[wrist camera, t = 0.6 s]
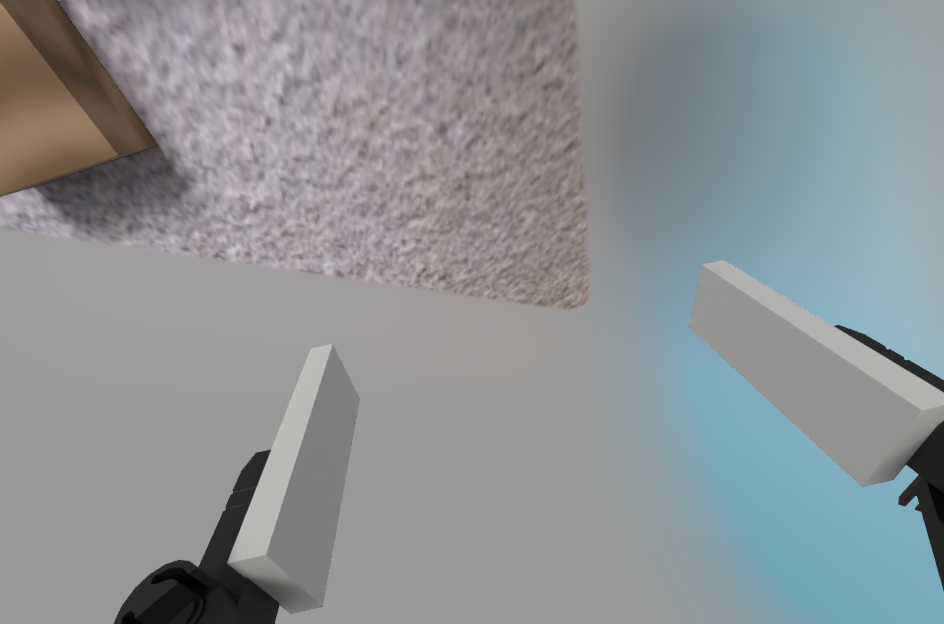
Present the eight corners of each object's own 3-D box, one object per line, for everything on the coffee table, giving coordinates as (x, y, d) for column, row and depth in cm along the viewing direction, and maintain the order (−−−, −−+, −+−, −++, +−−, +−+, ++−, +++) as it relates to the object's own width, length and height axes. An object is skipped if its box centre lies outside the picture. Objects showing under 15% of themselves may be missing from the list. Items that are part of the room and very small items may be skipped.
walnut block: (-126, 18, 25) (-234, 6, 21) (29, -38, 25) (-50, -62, 21) (33, 187, 32) (-26, 203, 28) (158, 145, 31) (118, 155, 27)
